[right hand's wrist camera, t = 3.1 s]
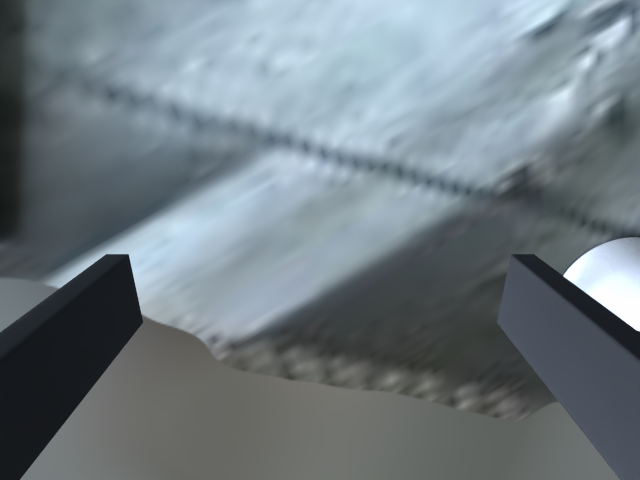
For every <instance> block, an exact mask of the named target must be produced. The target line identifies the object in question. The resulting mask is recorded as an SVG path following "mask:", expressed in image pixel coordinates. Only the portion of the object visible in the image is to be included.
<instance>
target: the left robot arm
mask: <svg viewBox="0 0 640 480" xmlns="http://www.w3.org/2000/svg"><path fill="white" fill-rule="evenodd" d="M564 277H565V278H566V279H568V280H569V281H571V282H572V283H573V284H575V285H576V286H577V287H579V288H580V289H581V290H583V291H584V292H585V293H587V294H588V295H590V296H591V297H592V298H594V299H595V300H596V301H598V302H599V303H600V304H602V305H603V306H604V307H606V308H607V309H609V310H610V311H611V312H613V313H614V314H615V315H617V316H618V317H619V318H621V319H622V320H623V321H625V322H626V323H627V324H629V325H630V326H632V327H633V328H634V329H636V330H638V331H640V237H628V238H621V239H616V240H612V241H609V242H607V243H604V244H602V245H599V246H597V247H595V248H594V249H592V250H590V251H589V252H587V253H586V254H584V255H583V256H582V257H580V258H579V259H578V260H577V261H576V262H575V263H574V264H573V265H572V266H571V267H570V268H569V269H568V270H567V272H566V273H565V274H564Z"/></svg>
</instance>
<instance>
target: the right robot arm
mask: <svg viewBox="0 0 640 480" xmlns="http://www.w3.org/2000/svg"><path fill="white" fill-rule="evenodd" d="M142 323H143V320H142V315H141V310H140V306H139V301H138V296H137V292H136V287H135V282H134V278H133V273H132V268H131V263H130V259H129V254H106V255H105V256H103V257H102V258H101V259H99V260H98V261H97V262H95V263H94V264H93V265H91V266H90V267H88V268H87V269H86V270H84V271H83V272H82V273H80V274H79V275H78V276H76V277H75V278H74V279H72V280H71V281H69V282H68V283H67V284H65V285H64V286H63V287H61V288H60V289H59V290H57V291H56V292H55V293H53V294H52V295H50V296H49V297H48V298H46V299H45V300H44V301H42V302H41V303H40V304H38V305H37V306H36V307H34V308H33V309H31V310H30V311H29V312H27V313H26V314H25V315H23V316H22V317H21V318H19V319H18V320H17V321H15V322H14V323H12V324H11V325H10V326H9V327H7V328H6V329H4V330H3V331H2V332H0V480H20V479H21V477H22V476H23V475H24V474H25V472H26V471H27V470H28V468H29V467H30V466H31V465H32V463H33V462H34V461H35V460H36V458H37V457H38V456H39V454H40V453H41V452H42V451H43V449H44V448H45V447H46V446H47V444H48V443H49V442H50V440H51V439H52V438H53V437H54V435H55V434H56V433H57V432H58V430H59V429H60V428H61V426H62V425H63V424H64V423H65V421H66V420H67V419H68V417H69V416H70V415H71V414H72V412H73V411H74V410H75V409H76V407H77V406H78V405H79V403H80V402H81V401H82V400H83V398H84V397H85V396H86V394H87V393H88V392H89V391H90V389H91V388H92V387H93V386H94V384H95V383H96V382H97V381H98V379H99V378H100V377H101V375H102V374H103V373H104V372H105V370H106V369H107V368H108V366H109V365H110V364H111V363H112V361H113V360H114V359H115V358H116V356H117V355H118V354H119V352H120V351H121V350H122V349H123V347H124V346H125V345H126V344H127V342H128V341H129V340H130V338H131V337H132V336H133V334H134V333H135V332H136V331H137V329H138V328H139V327H140V326H141V324H142ZM497 323H498V324H499V326H500V327H501V328H502V330H503V331H504V332H505V333H506V335H507V336H508V337H509V338H510V340H511V341H512V342H513V344H514V345H515V346H516V347H517V349H518V350H519V351H520V352H521V354H522V355H523V356H524V358H525V359H526V360H527V361H528V363H529V364H530V365H531V366H532V368H533V369H534V370H535V372H536V373H537V374H538V375H539V377H540V378H541V379H542V381H543V382H544V383H545V384H546V386H547V387H548V388H549V389H550V391H551V392H552V393H553V395H554V396H555V397H556V398H557V400H558V401H559V402H560V403H561V405H562V406H563V407H564V409H565V410H566V411H567V412H568V414H569V415H570V416H571V417H572V419H573V420H574V421H575V423H576V424H577V425H578V426H579V428H580V429H581V430H582V431H583V433H584V434H585V435H586V437H587V438H588V439H589V440H590V442H591V443H592V444H593V446H594V447H595V448H596V449H597V451H598V452H599V453H600V454H601V456H602V457H603V458H604V460H605V461H606V462H607V463H608V465H609V466H610V467H611V468H612V470H613V471H614V472H615V474H616V475H617V476H618V477H619V479H620V480H640V331H638V330H636V329H634V328H633V327H632V326H630V325H629V324H627V323H626V322H625V321H623V320H622V319H621V318H619V317H618V316H617V315H615V314H614V313H613V312H611V311H610V310H609V309H607V308H606V307H604V306H603V305H602V304H600V303H599V302H598V301H596V300H595V299H594V298H592V297H591V296H590V295H588V294H587V293H585V292H584V291H583V290H581V289H580V288H579V287H577V286H576V285H575V284H573V283H572V282H571V281H569V280H568V279H566V278H565V277H564V276H562V275H561V274H560V273H558V272H557V271H556V270H554V269H553V268H552V267H550V266H549V265H547V264H546V263H545V262H543V261H542V260H541V259H539V258H538V257H537V256H535V255H534V254H511V259H510V263H509V268H508V273H507V278H506V282H505V287H504V292H503V296H502V301H501V306H500V310H499V315H498V320H497Z"/></svg>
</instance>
